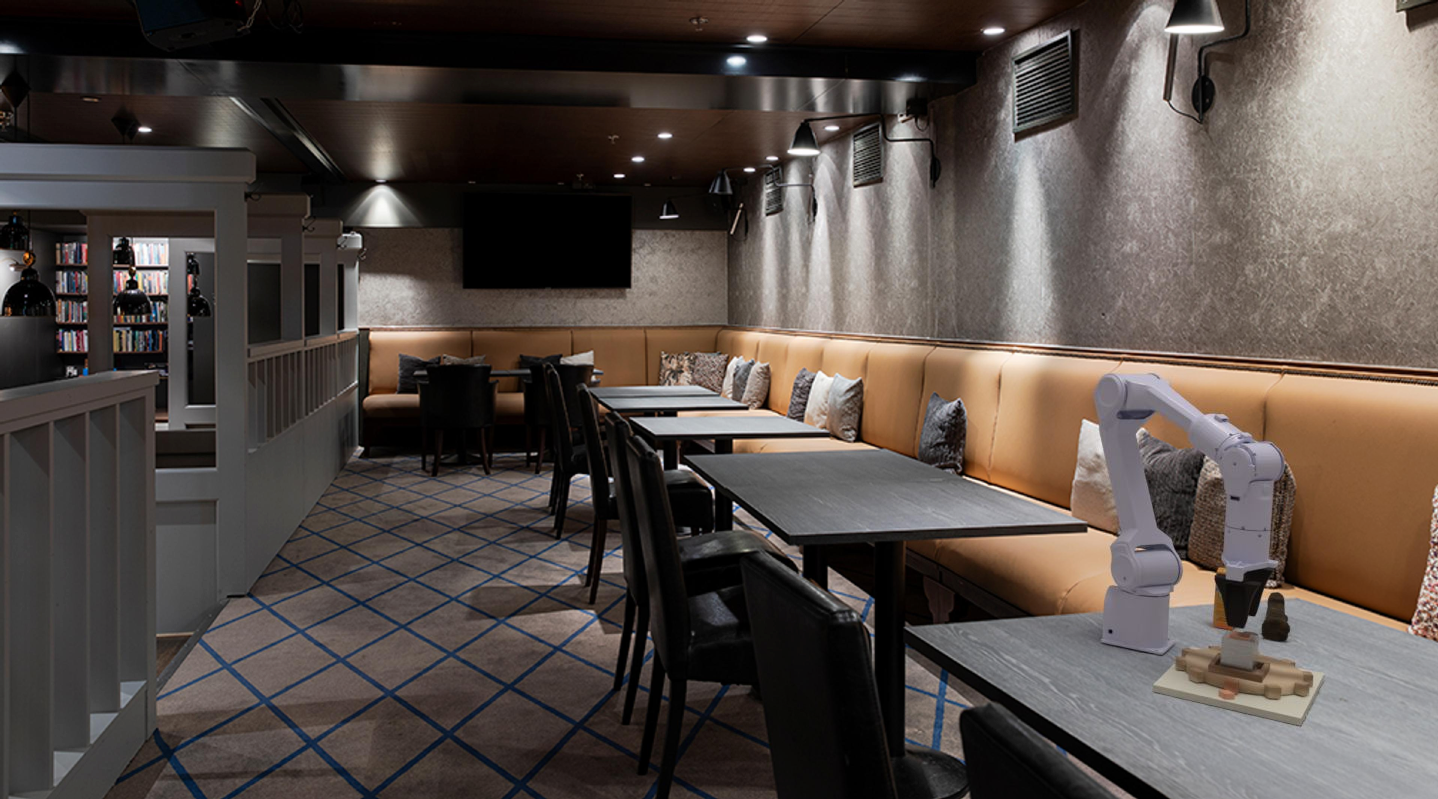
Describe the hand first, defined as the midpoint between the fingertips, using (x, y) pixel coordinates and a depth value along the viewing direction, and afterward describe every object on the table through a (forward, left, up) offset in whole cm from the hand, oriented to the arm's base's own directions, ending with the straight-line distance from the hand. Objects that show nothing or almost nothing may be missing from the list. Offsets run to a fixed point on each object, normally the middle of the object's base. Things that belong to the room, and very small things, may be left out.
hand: (1241, 620), depth 139 cm
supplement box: (-8, +30, -10) cm, 32 cm away
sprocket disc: (0, +1, -8) cm, 8 cm away
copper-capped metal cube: (0, -2, -7) cm, 7 cm away
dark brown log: (-1, +36, -10) cm, 37 cm away
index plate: (0, 0, -9) cm, 9 cm away
